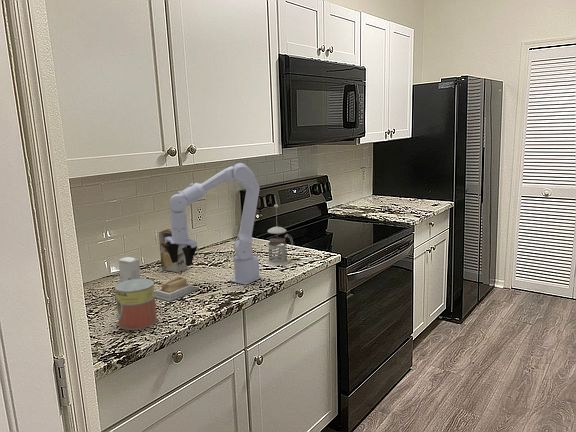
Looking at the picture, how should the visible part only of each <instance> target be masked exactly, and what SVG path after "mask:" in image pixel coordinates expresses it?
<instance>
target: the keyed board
mask: <svg viewBox="0 0 576 432" xmlns="http://www.w3.org/2000/svg"><path fill="white" fill-rule="evenodd" d="M199 290H200V287H199V288H198V287H194V284H192V283H188V282H187V286H186V287H184V288H181V289H179V290H176V291H174V292H171V293H167V292H163V291H162V287H161V288H159V289H158V288H157V289H156V290H155V289H154V292H155V299H158V300H161V301H164V302H168V303H170V302H173V301H175V300H177V299H180V298H182V297H184V296H187V295H189V293H190V294H192V293H194V292H196V291H199Z"/></svg>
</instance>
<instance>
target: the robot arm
mask: <svg viewBox="0 0 576 432" xmlns="http://www.w3.org/2000/svg"><path fill="white" fill-rule="evenodd" d="M234 180H235V181H236V182H238V183H239V184H241V185H242V186H243V188H244V189H245V190H246V191H245V196H244V202H243V207H242V208H243V209H242V212H241V213H242V214H241V221H240V225H239V232H238V234H237V238H236V240H235V241H234V243H233V248H234V251H235V255H234V256H233V267H234V269H233V270H234V278H231V279H229V282H232V283H237V284H241V285H245V286H246V285H248V284H251V283H253V282H255V281H257V280H260V279H261V278H262V276H261V275H260V263H259V262H260V261H259V258H258V257H257V256H256V255H254V254H253V251H254V250H253V248H252V243H253V238H252V237H253V231H254V226H255V225H254V224H255V219H256V212H257V207H258V201H259V196H260V195H259V194H260V189H261V188H260V184H259V183H258V180H257V178H256V176H255V174H254V172H253V171H252V169H250V167H249V166H247V165H246V163H243V162H237V163H235V164H234V165H231V166H229V167H227V168H224V169H222V170H221V171H219V172H218V173H216V174H215V175H213V176H211V177H210V178H209V179H207V180H205V181H203V182H202V183H199V182H195V183H193V182H190V184H189V186H188V187H186V188H184V189H182V190H178V192H177V194H176V193H175V194H173V195H172V196H171V197H170V198H169V201H168V206H169V208H170V212H169V213H170V227H171V228H170V229H171V231H172V237H165V243H167V244H166V245H164V246H165V248H166V249H167V251H168V253H169V255H170V258H171V261H172V263H175V262H177V261H178V247H179V245H184V246H186V247H184V248H182V250H183V252H184V255H185V260H186V265H187V267H189V266H192V265H193V260H194V257H195V254H196V251H197V249H198V246H197V245H198V244H197V241H196V240H193V239H190V238H189V229H188V217H187V213H186V211H187V210H186V207H187V206H191V205H193V204H194V203H196V202H198V201H199V200H201V199H203V198H204V197H205V196H206V192H207V191H210V190H211V189H213V188H214V187H216V186H219V185H220V184H222V183H224V182H234Z"/></svg>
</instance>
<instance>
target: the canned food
mask: <svg viewBox="0 0 576 432" xmlns="http://www.w3.org/2000/svg"><path fill="white" fill-rule="evenodd" d="M114 289H115V301H116V310H117V319H118V324H117V325H118V327H119V328H120V329H122V330H127V331H136V330H143V329H146V328H149V327H151V326H153V325H154V324H156V323H157V321H158V317H157V308H156V307H157V306H156V305H157V304H156V298H155V281H154V280H152V279H150V278H143V277H142V278H141V277H140V278H139V279H130V280H126V281H123V282H120V281H119V282H118V283H117V284H115V286H114Z"/></svg>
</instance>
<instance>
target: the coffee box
mask: <svg viewBox="0 0 576 432" xmlns="http://www.w3.org/2000/svg"><path fill="white" fill-rule="evenodd" d="M165 237H172V231H171V228H168V229H163V230H161V231H159V232H158V241H159V254H160V263H161V265H160V266H161V270H162V271H167V272H174V273H180V272H183V271H184V270H187V269H188V266H187V265H186V260H185V255H184V252H183V250H182V248H184V247H186V246H184V245H179V247H178V261H177V262H175V263H172V261H171V258H170V255H169V253H168V251H167V249H166V248H165V246H164V245H166V244H167V243H165Z"/></svg>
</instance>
